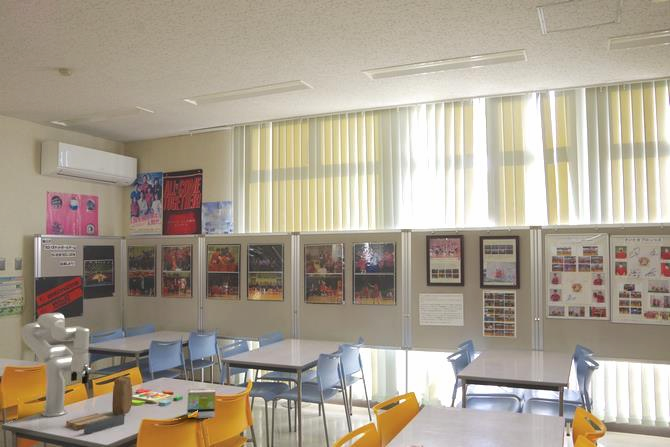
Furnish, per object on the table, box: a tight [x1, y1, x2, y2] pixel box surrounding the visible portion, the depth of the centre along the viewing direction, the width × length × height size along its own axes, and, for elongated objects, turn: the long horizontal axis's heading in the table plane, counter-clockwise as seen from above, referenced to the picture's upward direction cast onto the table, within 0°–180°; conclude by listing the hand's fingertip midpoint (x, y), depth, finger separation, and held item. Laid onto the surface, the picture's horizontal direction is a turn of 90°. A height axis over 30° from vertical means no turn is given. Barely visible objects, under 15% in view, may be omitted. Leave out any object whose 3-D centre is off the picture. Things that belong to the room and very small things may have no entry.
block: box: [112, 376, 133, 415], centre depth 314 cm, size 11×8×20 cm
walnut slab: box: [65, 413, 109, 431], centre depth 291 cm, size 12×18×3 cm, turn 147°
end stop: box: [83, 413, 126, 435], centre depth 284 cm, size 2×22×5 cm, turn 148°
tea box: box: [186, 387, 216, 419], centre depth 310 cm, size 15×10×15 cm
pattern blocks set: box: [132, 388, 184, 407], centre depth 345 cm, size 38×34×3 cm
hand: (79, 382), depth 300 cm, fingers open, 9 cm apart
